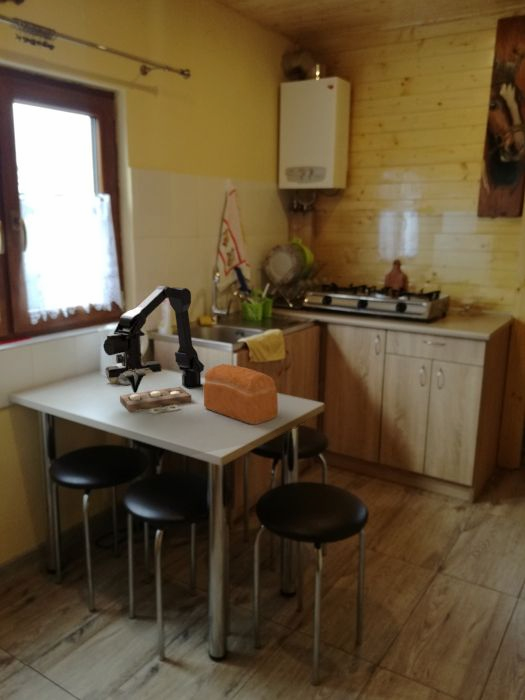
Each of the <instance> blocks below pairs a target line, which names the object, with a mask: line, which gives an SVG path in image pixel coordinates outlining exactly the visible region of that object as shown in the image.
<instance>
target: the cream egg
mask: <svg viewBox="0 0 525 700" xmlns="http://www.w3.org/2000/svg"><path fill="white" fill-rule="evenodd" d="M132 394H133V395H130V401H134V400H140V395H139V394H134V393H132Z"/></svg>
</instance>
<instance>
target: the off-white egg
mask: <svg viewBox="0 0 525 700" xmlns="http://www.w3.org/2000/svg"><path fill="white" fill-rule="evenodd" d="M152 391H153V392H151V393H150V395H151V398H154V397H161V393H160V392H159V391H154V390H152Z"/></svg>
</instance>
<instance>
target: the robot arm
mask: <svg viewBox="0 0 525 700" xmlns="http://www.w3.org/2000/svg"><path fill="white" fill-rule="evenodd" d="M166 299H168V301H169V305H170V307H171V308H172V309H173V311H174V314H175V320H176V321H175V322H176V330H177V337H178V338H177V339H178V346H179V348H178V349H177V351H175V352H174V357H175V363H177V366H178V367H179V370H180V371H182V374H181V385H182V386H184V388H186V389H191V388H198V387H203V384H202V381H201V380H202V379H201V377H202V376H201V373H202V372H204V370H205V365H204V364H203V362H201V361H200V358H199V356H198V351H196V349H195V347H194V345H193V340H192V333H191V331H192V330H191V324H190V316H189V314H190V313H189V309H190V306H191V303H192V292H191V290H189V288H186V287H179V286H178V287H177V286H173V287H170V286H167V285H159V286H156V288H155V289H154V291H152V292H151V294H150V295H149V296H147V298H145V299H144V300H143V301H142V302H141V303H140V304H139V305H138V306H136V307H135V308H134V309H130V310H128V311H126V312H124V313H123V314H122V315H121V316H120V317H119V321H118V324H117V326H116V328H115V330H114V332H113V334H108V335H106V339H105V340H104V342H103V345H102V346H103V350H104V353H105V354H107V356H114V355H115V361H116V364H119V363H122V366H125V367H124V368H119V367H117V366H113V365H110V366H106V368H105V375H106V377H107V376H108V377H109V378H115V377H119V376H120V375H121V373H122V375H123V376H124V377H125V378H127V379H128V380H127V381H128V382H130V385H129V386H130V387H131V389H132V391H133V394H134V393H138V390H139V387H140V384H141V382H142V380H143V379H144V377H145V376H146V375H147V374H146V371H149V370H150V371H151V372H152V373H159V372H162V365H161V363H160V362H158V361H157V360H152V361H146V363H145V364H142V357H143V353H142V347H141V337H142V336H145V335H146V333H144V331H142V328H143V327H144V326H145V324H146V323H147V318H148V317H149V315H150V314H152V313H153V311H155V310H156V309H157V308H158V307H159V306H161V304H162V303H163V302H164V301H165V300H166ZM128 369H131V370H128Z"/></svg>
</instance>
